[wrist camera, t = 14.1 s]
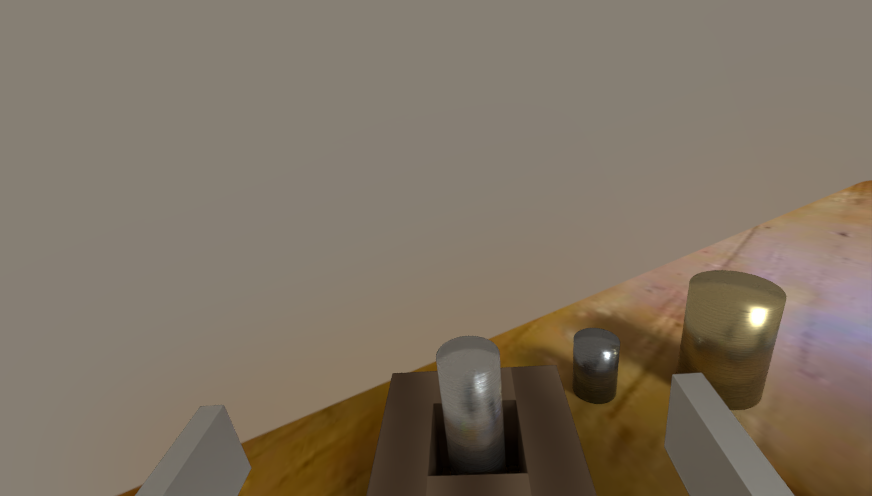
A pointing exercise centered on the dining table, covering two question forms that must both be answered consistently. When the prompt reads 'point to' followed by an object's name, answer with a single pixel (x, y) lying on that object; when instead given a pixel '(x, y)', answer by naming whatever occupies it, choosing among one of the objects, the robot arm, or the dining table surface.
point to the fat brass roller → (731, 333)
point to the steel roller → (472, 405)
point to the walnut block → (523, 435)
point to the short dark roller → (595, 365)
